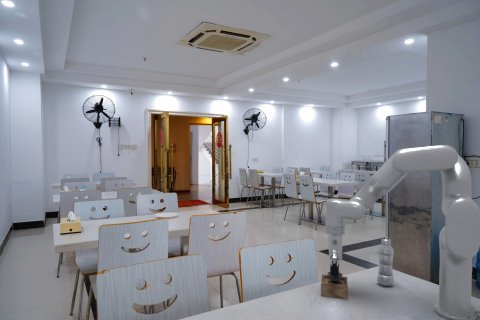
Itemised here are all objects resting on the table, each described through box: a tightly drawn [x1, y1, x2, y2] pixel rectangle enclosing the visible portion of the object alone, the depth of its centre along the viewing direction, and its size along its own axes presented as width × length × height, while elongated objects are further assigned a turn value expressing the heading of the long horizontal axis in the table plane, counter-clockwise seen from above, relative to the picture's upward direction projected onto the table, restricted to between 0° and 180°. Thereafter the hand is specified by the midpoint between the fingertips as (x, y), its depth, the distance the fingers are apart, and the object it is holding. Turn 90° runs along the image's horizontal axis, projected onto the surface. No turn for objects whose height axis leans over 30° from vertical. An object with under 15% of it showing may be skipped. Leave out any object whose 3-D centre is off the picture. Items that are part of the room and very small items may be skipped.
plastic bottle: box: [377, 237, 395, 287], centre depth 140 cm, size 6×7×20 cm
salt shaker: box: [326, 257, 343, 284], centre depth 132 cm, size 6×6×12 cm
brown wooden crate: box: [320, 273, 349, 301], centre depth 132 cm, size 10×10×5 cm
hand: (334, 271), depth 132 cm, fingers open, 9 cm apart
